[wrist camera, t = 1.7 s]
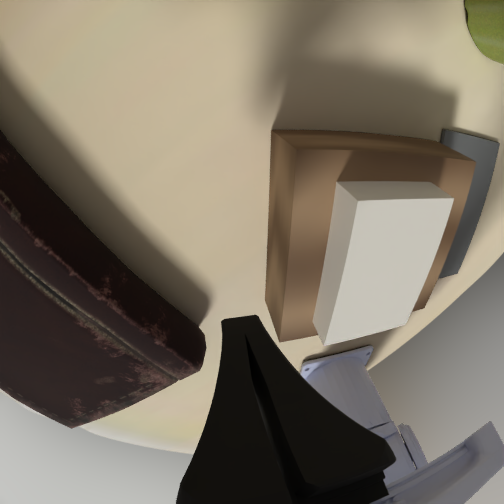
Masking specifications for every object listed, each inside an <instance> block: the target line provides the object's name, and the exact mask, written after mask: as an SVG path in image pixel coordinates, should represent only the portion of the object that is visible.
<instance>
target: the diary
mask: <svg viewBox="0 0 504 504" xmlns="http://www.w3.org/2000/svg"><path fill="white" fill-rule="evenodd" d="M205 352H206V341H205V335H204V333H203V332H202V331H201V329H200V328H199V327H198V326H197V325H196V324H194V323H193V322H192V321H191V320H189V319H188V318H187V317H186V316H184V315H183V314H182V313H181V312H179V311H178V310H177V309H176V308H174V307H173V306H172V305H171V304H169V303H168V302H167V301H166V300H164V299H163V298H162V297H161V296H160V295H158V294H157V293H156V292H155V291H154V290H152V289H151V288H150V287H149V286H148V285H146V284H145V283H144V282H143V281H142V280H141V279H139V278H138V277H137V276H136V275H135V274H134V273H133V272H132V271H131V270H130V269H128V268H127V267H126V266H125V265H124V264H123V263H122V262H121V261H120V260H119V259H118V258H117V257H116V256H115V255H114V254H113V253H112V252H111V251H110V250H109V249H108V248H107V247H106V246H105V245H104V244H103V243H102V242H101V241H100V240H99V239H98V238H97V237H96V236H95V235H94V234H93V233H92V232H91V231H90V230H89V229H88V228H87V227H86V226H85V225H84V224H83V222H82V221H81V220H80V219H79V218H78V217H77V216H76V215H75V214H74V213H73V212H72V211H71V210H70V208H69V207H68V206H67V205H66V204H65V203H64V202H63V201H62V200H61V199H60V198H59V197H58V196H57V195H56V194H55V193H54V192H53V191H52V190H51V189H50V188H49V187H48V185H47V184H46V183H45V182H44V181H43V180H42V179H41V178H40V177H39V176H38V175H37V174H36V172H35V171H34V170H33V169H32V168H31V167H30V166H29V165H28V163H27V162H26V161H25V160H24V159H23V158H22V157H21V155H20V154H19V153H18V152H17V151H16V150H15V148H14V147H13V146H12V145H11V144H10V142H9V141H8V140H7V139H6V137H5V136H4V135H3V133H2V132H1V130H0V388H1V389H2V390H3V391H5V392H6V393H7V394H9V395H10V396H11V397H13V398H14V399H16V400H18V401H19V402H21V403H23V404H25V405H26V406H28V407H30V408H32V409H33V410H35V411H37V412H39V413H41V414H43V415H45V416H47V417H49V418H51V419H53V420H55V421H57V422H59V423H61V424H63V425H65V426H67V427H69V428H74V427H77V426H80V425H83V424H86V423H89V422H92V421H94V420H97V419H100V418H103V417H105V416H108V415H110V414H113V413H115V412H118V411H120V410H123V409H125V408H127V407H129V406H131V405H133V404H135V403H137V402H139V401H141V400H143V399H145V398H147V397H149V396H151V395H153V394H155V393H157V392H159V391H161V390H163V389H165V388H166V387H168V386H170V385H172V384H174V383H176V382H177V381H178V379H179V380H182V379H184V378H186V377H188V376H190V375H192V374H194V373H196V372H198V371H200V369H201V367H202V365H203V361H204V357H205Z"/></svg>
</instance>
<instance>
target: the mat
mask: <svg viewBox="0 0 504 504" xmlns="http://www.w3.org/2000/svg"><path fill="white" fill-rule="evenodd" d="M440 143H441V144H443V145H445V146H447V147H449V148H451V149H453V150H455V151H457V152H459V153H461V154H463V155H465V156H467V157H469V158H470V159H472V160H474V161H476V166H475V170H474V174H473V178H472V182H471V186H470V189H469V193H468V196H467V200H466V203H465V206H464V210H463V213H462V216H461V219H460V222H459V225H458V228H457V231H456V234H455V236H454V239H453V242H452V245H451V247H450V250H449V253H448V255H447V258H446V260H445V263H444V265H443V268H442V270H441V272H440V275H439V277H438V279H439V278H443V277H447V276H450V275H454V274H458V271H459V269H460V267H461V264H462V262H463V260H464V257H465V255H466V253H467V250H468V248H469V245H470V242H471V240H472V237H473V235H474V232H475V229H476V226H477V224H478V221H479V218H480V215H481V212H482V209H483V206H484V203H485V199H486V196H487V193H488V189H489V186H490V182H491V178H492V175H493V171H494V167H495V163H496V158H497V154H498V149H499V144H500V143H498V142H494V141H491V140H487V139H484V138H480V137H476V136H472V135H468V134H464V133H460V132H455V131H451V130H446V129H443V131H442V137H441V142H440Z"/></svg>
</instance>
